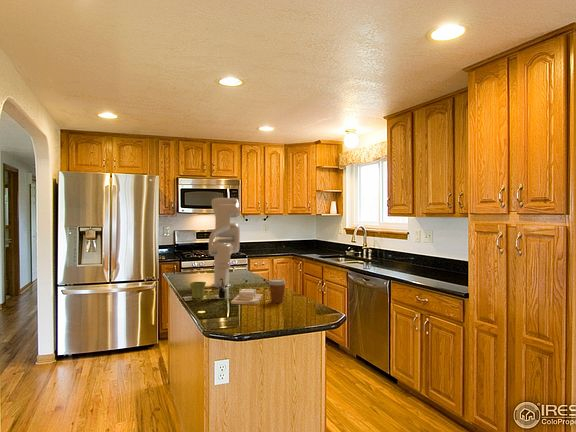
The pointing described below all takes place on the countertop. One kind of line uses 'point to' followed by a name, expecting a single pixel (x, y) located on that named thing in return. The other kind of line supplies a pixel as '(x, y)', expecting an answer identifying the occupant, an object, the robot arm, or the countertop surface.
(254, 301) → the stack base
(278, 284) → the disposable coffee cup
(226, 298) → the sage block
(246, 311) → the countertop surface
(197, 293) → the plant pot
